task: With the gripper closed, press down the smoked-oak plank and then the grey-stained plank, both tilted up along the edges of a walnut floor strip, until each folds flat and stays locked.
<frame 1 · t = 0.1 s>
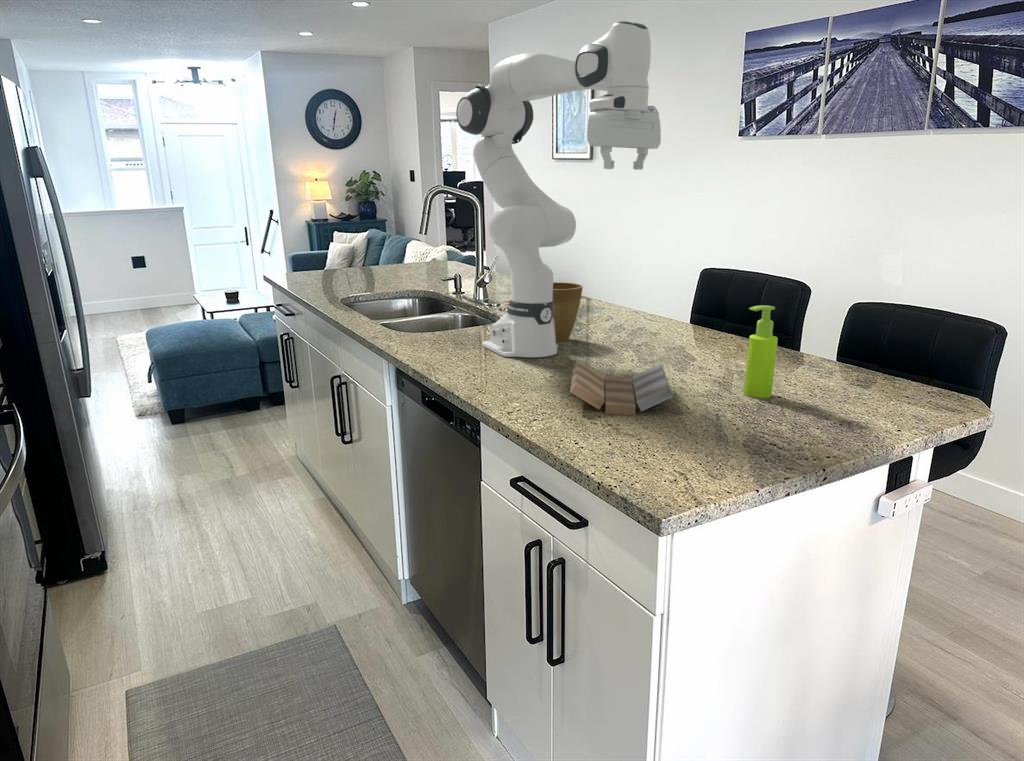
hand: (623, 169, 161), 48 cm above the worktop, fingers open, 8 cm apart
smoked oak plank: (587, 383, 157), point 3 cm above the worktop, hinge at 30.0°
grey plank: (651, 386, 156), point 3 cm above the worktop, hinge at 30.0°
plant pot: (555, 340, 213), on the worktop
soap dispenser: (755, 395, 162), on the worktop
walnut strip: (618, 398, 157), on the worktop
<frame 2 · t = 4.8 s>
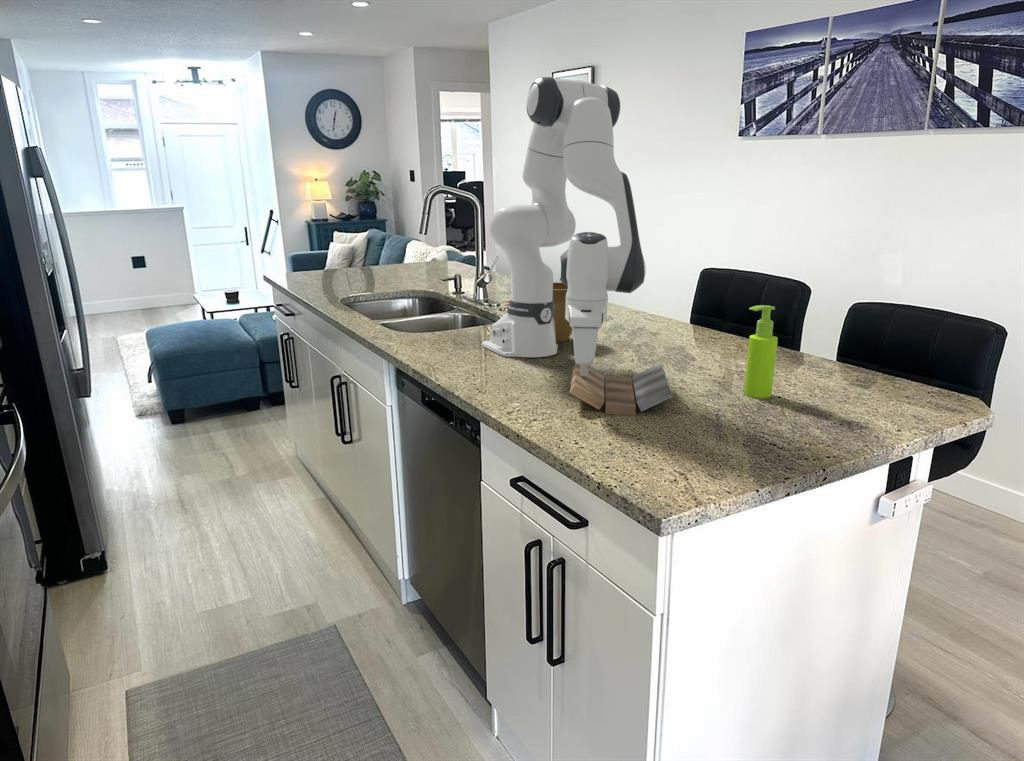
hand: (584, 374, 157), 5 cm above the worktop, fingers closed, pressing on smoked oak plank
smoked oak plank: (587, 383, 157), point 3 cm above the worktop, hinge at 28.1°, touching gripper
everything else where it was.
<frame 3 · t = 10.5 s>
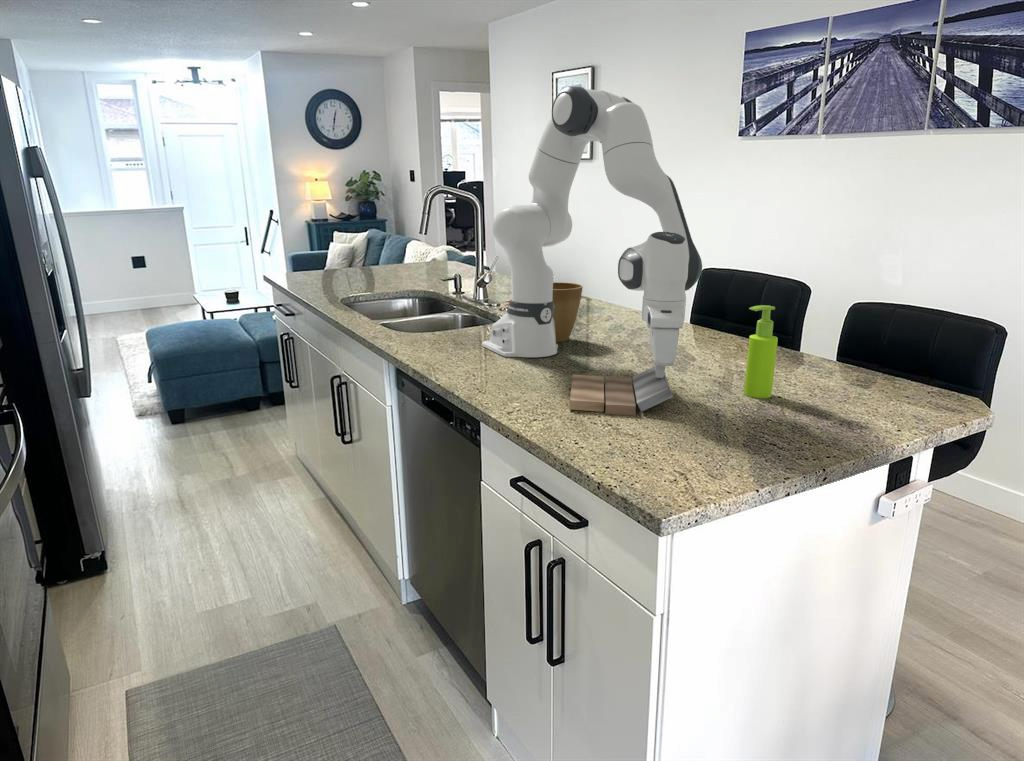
hand: (659, 376, 155), 5 cm above the worktop, fingers closed, pressing on grey plank
smoked oak plank: (587, 392, 158), point 1 cm above the worktop, hinge at 1.2°
grey plank: (651, 386, 156), point 3 cm above the worktop, hinge at 29.4°, touching gripper
everything else where it was.
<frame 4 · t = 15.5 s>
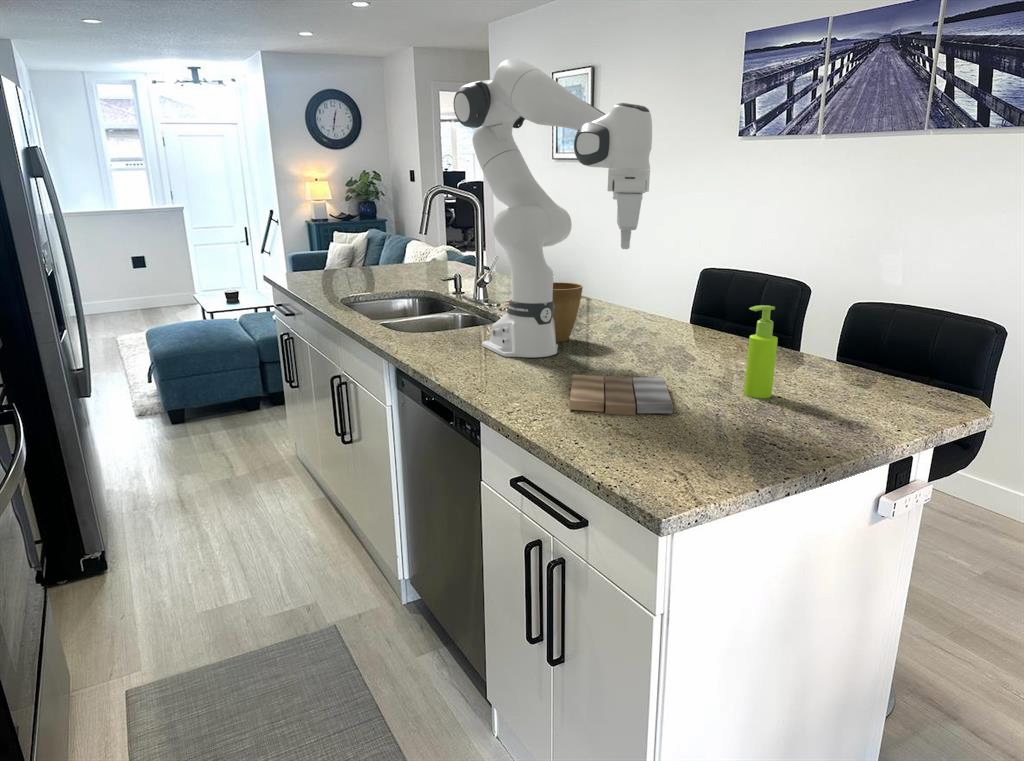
hand: (625, 248, 160), 31 cm above the worktop, fingers closed
grey plank: (651, 394, 156), point 1 cm above the worktop, hinge at 3.3°
everything else where it was.
at the end: smoked oak plank at +1° (first picture: +30°); grey plank at +3° (first picture: +30°) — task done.
